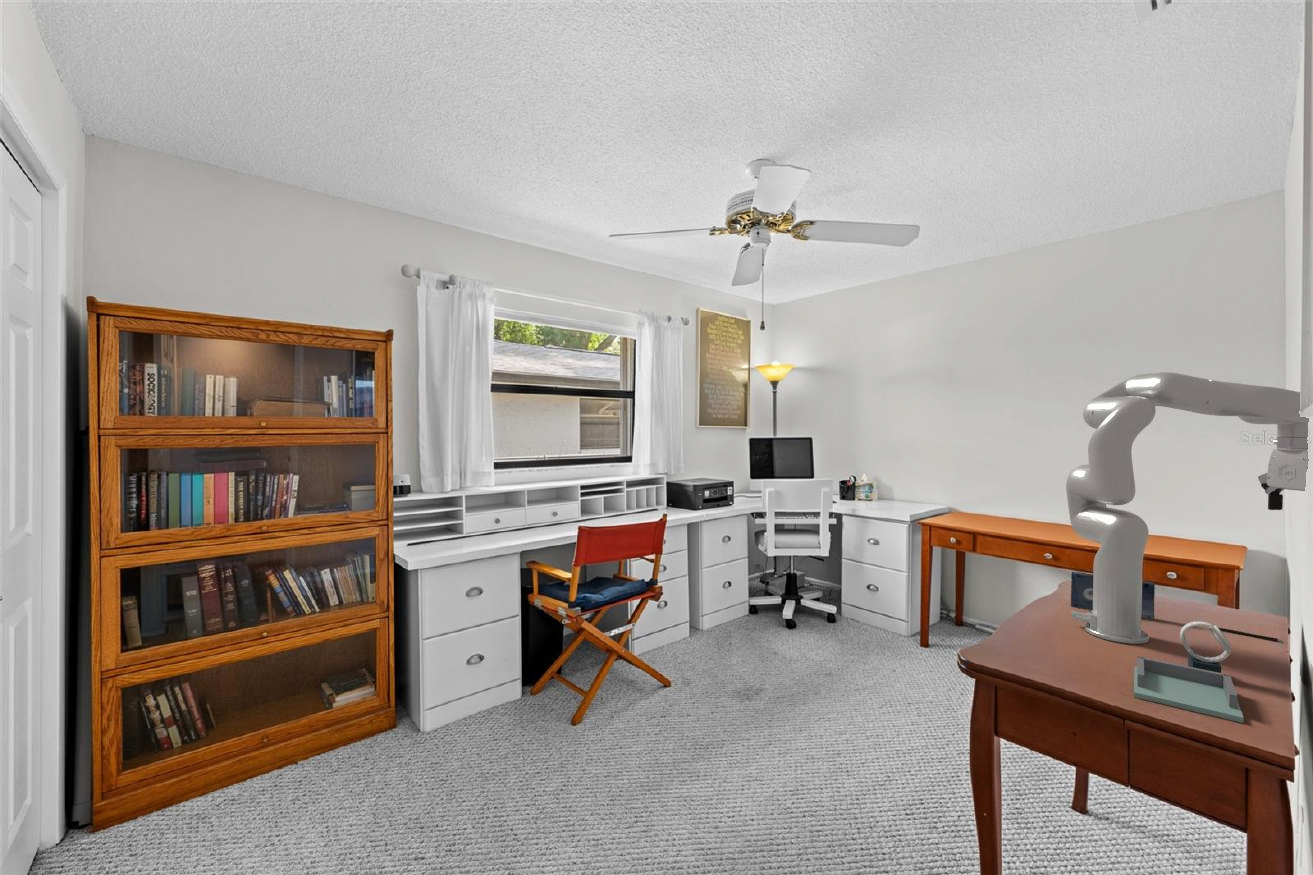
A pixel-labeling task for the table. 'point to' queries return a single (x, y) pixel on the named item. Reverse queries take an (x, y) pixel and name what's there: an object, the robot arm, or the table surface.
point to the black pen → (1251, 635)
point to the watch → (1206, 661)
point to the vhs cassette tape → (1084, 594)
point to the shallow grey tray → (1187, 688)
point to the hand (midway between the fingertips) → (1296, 512)
